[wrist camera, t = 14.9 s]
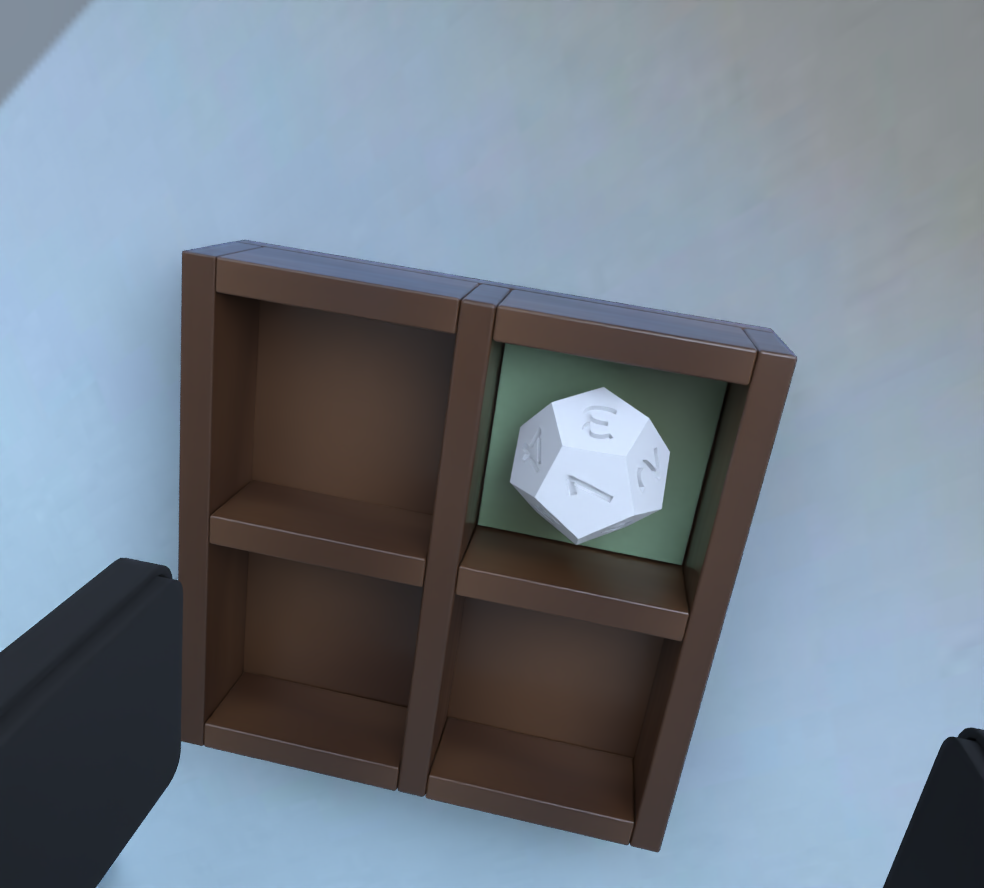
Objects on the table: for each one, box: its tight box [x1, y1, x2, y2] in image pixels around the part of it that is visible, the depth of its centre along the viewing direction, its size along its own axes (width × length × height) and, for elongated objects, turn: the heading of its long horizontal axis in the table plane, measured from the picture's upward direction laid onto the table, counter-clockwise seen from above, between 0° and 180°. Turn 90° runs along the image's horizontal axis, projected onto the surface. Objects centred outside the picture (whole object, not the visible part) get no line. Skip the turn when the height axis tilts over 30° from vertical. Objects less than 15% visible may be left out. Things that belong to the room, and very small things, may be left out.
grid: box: [178, 240, 797, 852], centre depth 21 cm, size 13×13×3 cm
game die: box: [510, 387, 670, 545], centre depth 19 cm, size 4×4×3 cm
